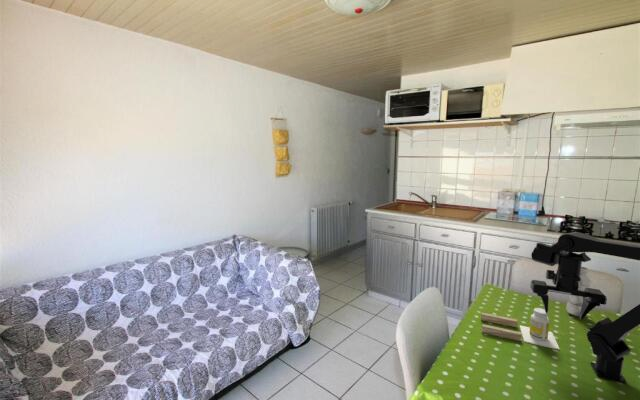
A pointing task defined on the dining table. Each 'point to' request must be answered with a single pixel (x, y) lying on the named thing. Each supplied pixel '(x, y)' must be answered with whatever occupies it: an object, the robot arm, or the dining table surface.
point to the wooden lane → (500, 331)
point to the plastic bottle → (576, 301)
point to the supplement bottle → (539, 324)
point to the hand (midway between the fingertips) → (563, 315)
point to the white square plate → (529, 339)
